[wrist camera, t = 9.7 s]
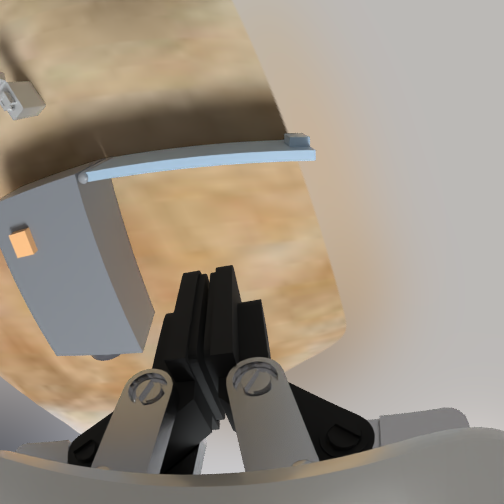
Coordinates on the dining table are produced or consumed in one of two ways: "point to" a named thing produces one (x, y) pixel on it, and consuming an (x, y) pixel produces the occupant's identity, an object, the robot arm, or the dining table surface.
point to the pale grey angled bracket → (20, 99)
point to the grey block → (76, 265)
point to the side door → (202, 157)
